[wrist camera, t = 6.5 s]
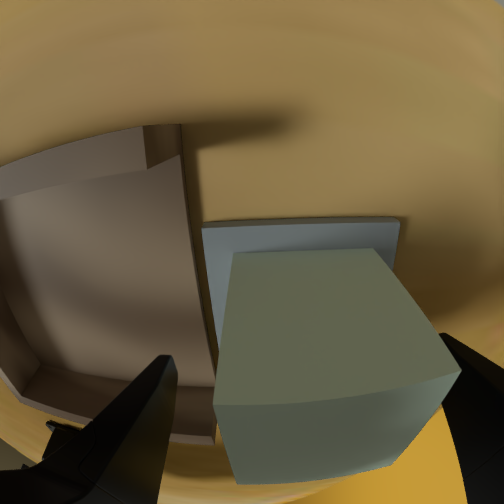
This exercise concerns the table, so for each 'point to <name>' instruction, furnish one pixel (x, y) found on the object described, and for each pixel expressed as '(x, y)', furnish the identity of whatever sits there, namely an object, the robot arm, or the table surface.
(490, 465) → the robot arm
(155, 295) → the walnut crate
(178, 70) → the table surface
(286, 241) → the slate tile
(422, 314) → the sage block
